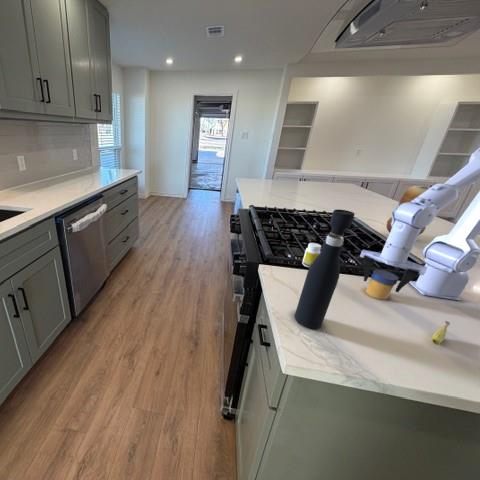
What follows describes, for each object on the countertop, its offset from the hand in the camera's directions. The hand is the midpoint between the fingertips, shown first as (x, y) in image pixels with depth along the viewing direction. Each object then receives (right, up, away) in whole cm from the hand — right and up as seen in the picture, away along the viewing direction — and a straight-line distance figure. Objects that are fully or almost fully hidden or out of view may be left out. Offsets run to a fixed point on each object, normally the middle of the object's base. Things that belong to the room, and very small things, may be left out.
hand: (380, 285), depth 77 cm
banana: (0, -11, -16) cm, 19 cm away
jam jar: (0, -3, +1) cm, 3 cm away
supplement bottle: (-12, +4, +18) cm, 22 cm away
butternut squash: (+50, +15, +46) cm, 70 cm away
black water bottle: (-29, -8, -11) cm, 31 cm away
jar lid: (0, +3, -1) cm, 3 cm away
